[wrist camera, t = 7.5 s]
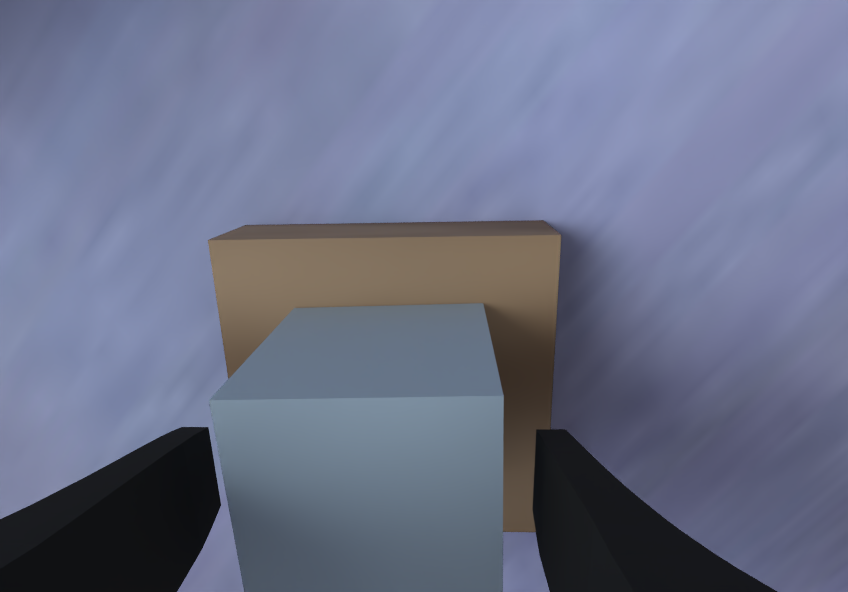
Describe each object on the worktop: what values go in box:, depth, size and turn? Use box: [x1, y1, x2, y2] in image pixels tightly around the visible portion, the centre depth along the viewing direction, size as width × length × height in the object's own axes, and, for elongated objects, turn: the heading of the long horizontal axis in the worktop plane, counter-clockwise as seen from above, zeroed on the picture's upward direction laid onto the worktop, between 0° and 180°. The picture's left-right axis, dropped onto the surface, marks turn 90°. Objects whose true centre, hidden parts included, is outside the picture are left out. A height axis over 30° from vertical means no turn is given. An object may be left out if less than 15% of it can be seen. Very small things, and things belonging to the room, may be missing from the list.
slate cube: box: [209, 303, 504, 592], centre depth 12 cm, size 5×5×5 cm
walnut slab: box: [208, 220, 561, 532], centre depth 15 cm, size 9×9×3 cm
